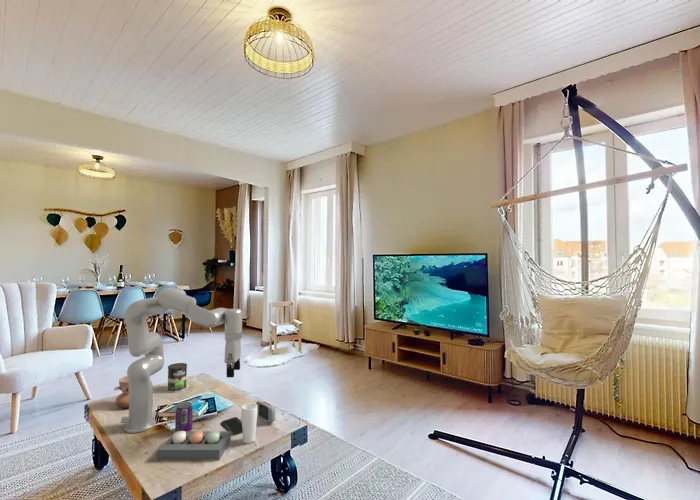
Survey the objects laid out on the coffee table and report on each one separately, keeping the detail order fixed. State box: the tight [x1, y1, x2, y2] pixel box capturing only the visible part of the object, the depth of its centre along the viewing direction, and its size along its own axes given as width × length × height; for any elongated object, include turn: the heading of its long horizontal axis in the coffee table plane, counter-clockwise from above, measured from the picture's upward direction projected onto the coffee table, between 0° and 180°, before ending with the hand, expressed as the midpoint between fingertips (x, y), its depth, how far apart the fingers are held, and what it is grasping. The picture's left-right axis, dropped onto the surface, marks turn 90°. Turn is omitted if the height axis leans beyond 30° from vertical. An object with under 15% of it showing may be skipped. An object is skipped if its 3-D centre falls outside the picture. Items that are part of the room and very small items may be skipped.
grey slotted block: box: [157, 430, 232, 461], centre depth 142 cm, size 24×14×4 cm, turn 91°
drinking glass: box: [240, 402, 258, 444], centre depth 150 cm, size 7×7×15 cm
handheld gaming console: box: [255, 400, 276, 423], centre depth 169 cm, size 14×3×8 cm, turn 49°
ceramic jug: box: [113, 375, 129, 408], centre depth 184 cm, size 18×14×14 cm
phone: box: [220, 416, 243, 436], centre depth 161 cm, size 8×1×15 cm
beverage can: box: [174, 401, 194, 432], centre depth 157 cm, size 7×7×12 cm
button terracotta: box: [190, 430, 203, 444], centre depth 142 cm, size 5×5×4 cm
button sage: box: [207, 430, 220, 444], centre depth 142 cm, size 5×5×4 cm
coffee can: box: [167, 362, 188, 393], centre depth 204 cm, size 10×10×14 cm
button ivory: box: [172, 431, 186, 444], centre depth 142 cm, size 5×5×4 cm
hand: (233, 373), depth 157 cm, fingers open, 9 cm apart
